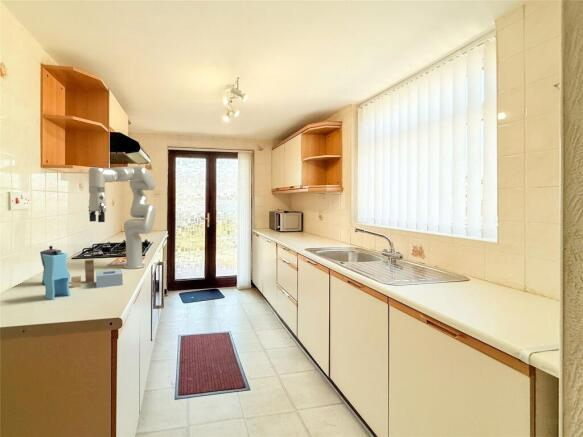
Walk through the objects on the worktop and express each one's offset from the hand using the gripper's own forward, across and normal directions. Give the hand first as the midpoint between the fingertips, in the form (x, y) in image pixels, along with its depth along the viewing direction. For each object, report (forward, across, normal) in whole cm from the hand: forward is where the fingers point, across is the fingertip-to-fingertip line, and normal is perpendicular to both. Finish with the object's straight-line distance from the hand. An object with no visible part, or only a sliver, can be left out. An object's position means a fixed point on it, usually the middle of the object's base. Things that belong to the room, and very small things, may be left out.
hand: (97, 221), depth 187 cm
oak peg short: (+33, -3, +12) cm, 35 cm away
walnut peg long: (+33, +1, +4) cm, 33 cm away
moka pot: (+33, +14, +16) cm, 39 cm away
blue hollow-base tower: (+34, -15, +25) cm, 44 cm away
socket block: (+33, -11, -1) cm, 35 cm away
